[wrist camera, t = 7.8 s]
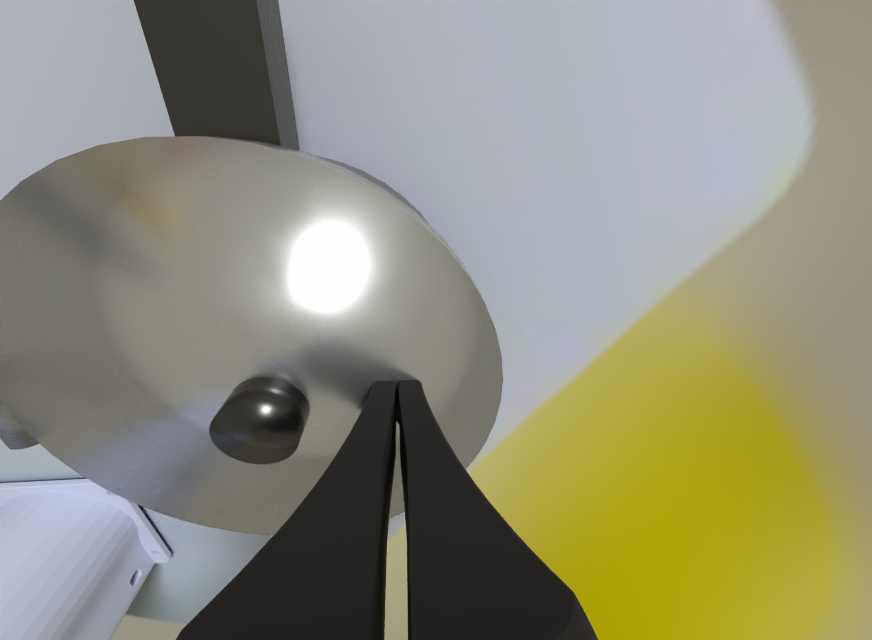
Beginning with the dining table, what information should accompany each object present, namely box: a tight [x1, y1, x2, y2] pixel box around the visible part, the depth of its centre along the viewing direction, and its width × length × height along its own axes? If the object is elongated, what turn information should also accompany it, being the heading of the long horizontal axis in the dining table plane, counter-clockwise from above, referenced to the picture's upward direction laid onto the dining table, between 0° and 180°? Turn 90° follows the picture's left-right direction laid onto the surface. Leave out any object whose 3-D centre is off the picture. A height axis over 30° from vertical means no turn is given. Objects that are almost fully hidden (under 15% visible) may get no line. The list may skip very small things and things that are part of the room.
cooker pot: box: [134, 0, 429, 224], centre depth 12 cm, size 20×14×5 cm
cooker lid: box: [0, 136, 503, 535], centre depth 10 cm, size 15×16×2 cm
